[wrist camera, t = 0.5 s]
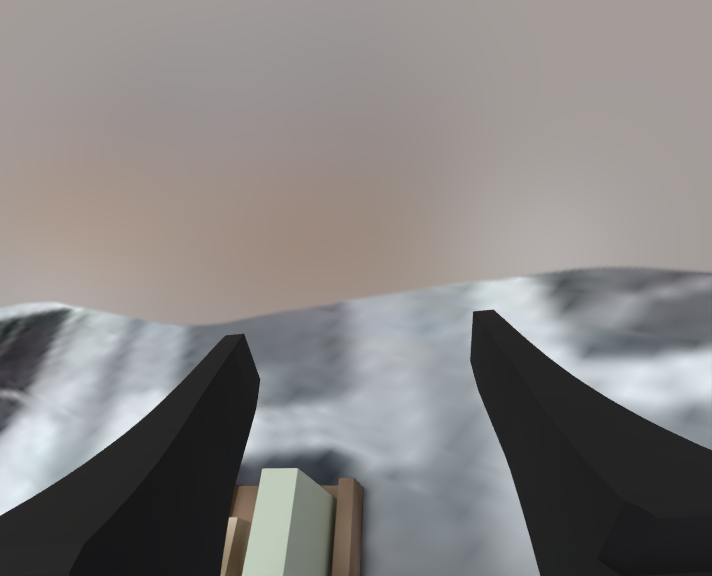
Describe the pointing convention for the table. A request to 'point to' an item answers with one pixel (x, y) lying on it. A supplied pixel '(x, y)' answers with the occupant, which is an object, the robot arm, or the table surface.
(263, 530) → the pale green slab
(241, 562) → the offcut
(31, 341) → the table surface
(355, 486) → the rack
